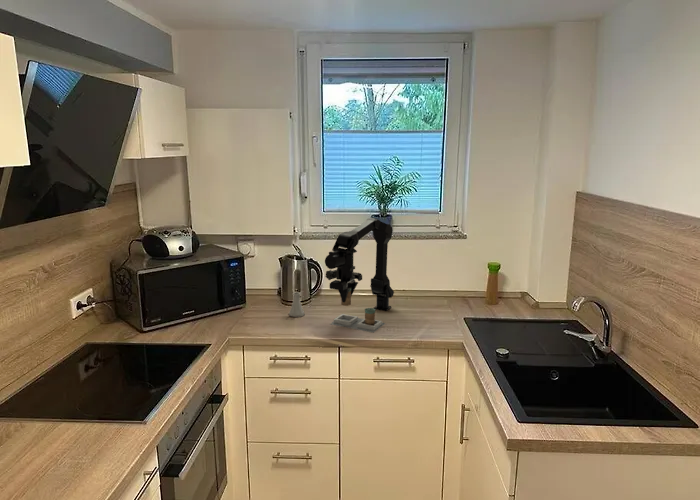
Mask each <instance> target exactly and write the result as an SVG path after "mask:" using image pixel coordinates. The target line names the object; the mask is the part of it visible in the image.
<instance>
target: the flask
mask: <svg viewBox="0 0 700 500" xmlns="http://www.w3.org/2000/svg"><path fill="white" fill-rule="evenodd" d="M292 295H293V300H292V303H291V307H290V309H289V312H288V315H289V317H293V318H300V317H301V318H302V317H304V316H305V315H306V314H305V311H304V308H303V306H302V303H301V298H300V297H301V296H300V295H301V292H298V291H297V292H296V291H295V292H292Z"/></svg>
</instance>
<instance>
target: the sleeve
mask: <svg viewBox="0 0 700 500" xmlns="http://www.w3.org/2000/svg"><path fill="white" fill-rule="evenodd" d="M340 301H341V302H340V303H341V304H340V305H341V306H350V305H352V296H351V287H350V289H349V292H348V295H347V298H346V301H345V302H342V299H340Z"/></svg>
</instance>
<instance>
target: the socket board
mask: <svg viewBox="0 0 700 500" xmlns="http://www.w3.org/2000/svg"><path fill="white" fill-rule="evenodd" d="M330 325H331V326H332V325H333V326H338V327H341V328H342V327H343V328H349V329H352V330H358V331H363V332H366V333H367V332H368V333H375V332H376V331H378V330H379V329H380V328H382V327H383V326H384V325H386V322H383V321H382V320H379V319H375V325H373V326H372V325H367V324H365V318H360V317H359V316H356V315H350V314H345V313H341V314H339V315H338V316H337V317H335V318H334V319H333V321H332V322H331V323H330Z"/></svg>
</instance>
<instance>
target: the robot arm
mask: <svg viewBox="0 0 700 500" xmlns="http://www.w3.org/2000/svg"><path fill="white" fill-rule="evenodd" d="M371 232H372V235H373V236H372V237H373V239H374V241H375V243H376V249H375V252H376V253H375V274H374V276H373V277H371V278H370V291H371V293H372V295H373V296H376V302H375V303H376V304H375V306H374V307H373V309H375V310H379V311H383V312H387V311H388V310H389V309H391V308H392V305H390V299H391V298H393V297H394V293H395V291H394V290H393V288H392V287H391V282H390V281H391V280H390V279H389V277H388V275H387V271H388V269H387V266H388V247H389V245H388V244H389V242H390V240H391V239H392V235H393V227H392V225H391V224H389V223H385V222H384V221H381V220H379V219H378V218H373V217H369V218H367V219H366V220H364V222H362V223H361V224H359V225H358V226H357V227H355V228H353V229H351V230H349V231H344V232H342V233H340V234H338V235H337V238H336V240H335V243H334V244H333V247H332V250H331V251H329V252H328V255H326V257H325V258H324V263H325V267H327V269H329V270H326V271H325V276H324V277H325V278H326V279H327V280H328V281H331V280H332V281H331V282H329V289H330V290H334V291H335V290H336V291H338V293H339V295H340V298H341V299H342V302H345V301H346V298H347V295H348V292H349V289H350V287H351V297H352V296H353V294H354V292H355V290H356V287H357V286H358V284H359V282H360V281H363V274H362V273H360V272H355V271H354V270H356V266H355V265H354V254H355V253H357V252H358V251H357V250H356V249H355V248H356V247H357V245H358V244H359V242H360V240H361V239H362V238H364V237H365V236H366V235H368V234H369V233H371ZM355 279H356V280H357V281H358V282H357V281H356V280H355ZM341 299H340V300H341Z"/></svg>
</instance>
